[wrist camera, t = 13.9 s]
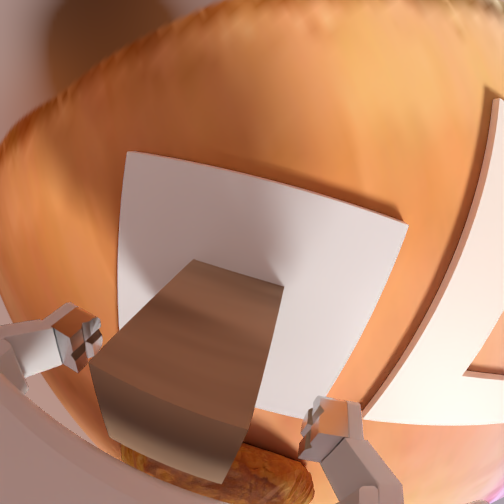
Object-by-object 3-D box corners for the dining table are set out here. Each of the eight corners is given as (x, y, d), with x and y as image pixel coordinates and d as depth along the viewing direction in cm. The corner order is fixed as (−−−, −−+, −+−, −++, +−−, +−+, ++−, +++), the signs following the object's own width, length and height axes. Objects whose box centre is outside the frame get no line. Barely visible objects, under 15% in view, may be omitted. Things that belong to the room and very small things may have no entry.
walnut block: (260, 356, 13) (221, 484, 7) (183, 330, 13) (109, 437, 7) (284, 286, 12) (248, 429, 5) (193, 259, 12) (88, 362, 6)
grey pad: (310, 413, 15) (309, 420, 14) (125, 350, 16) (121, 356, 15) (404, 221, 10) (408, 225, 10) (134, 150, 12) (127, 151, 11)
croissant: (158, 366, 19) (89, 432, 12) (345, 454, 16) (327, 543, 9) (146, 444, 24) (106, 489, 17) (272, 505, 21) (248, 559, 14)
